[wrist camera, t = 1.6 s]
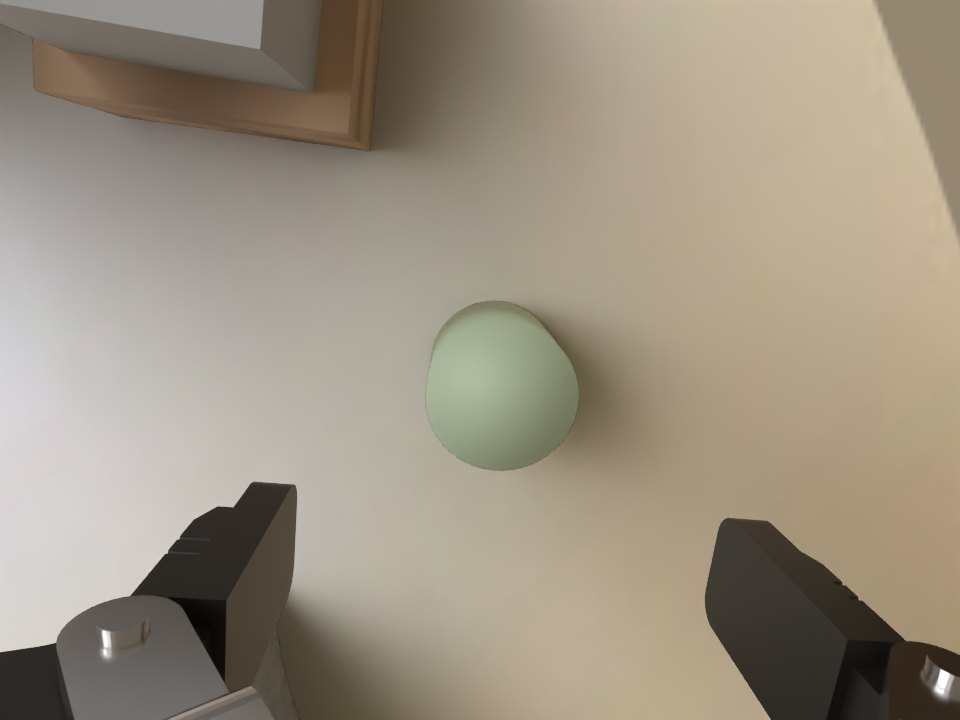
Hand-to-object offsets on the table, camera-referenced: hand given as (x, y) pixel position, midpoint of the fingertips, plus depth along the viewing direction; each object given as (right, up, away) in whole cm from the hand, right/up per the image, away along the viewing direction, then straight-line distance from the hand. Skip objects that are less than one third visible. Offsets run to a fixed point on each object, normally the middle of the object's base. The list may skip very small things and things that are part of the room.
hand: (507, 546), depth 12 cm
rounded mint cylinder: (0, +3, +13) cm, 14 cm away
